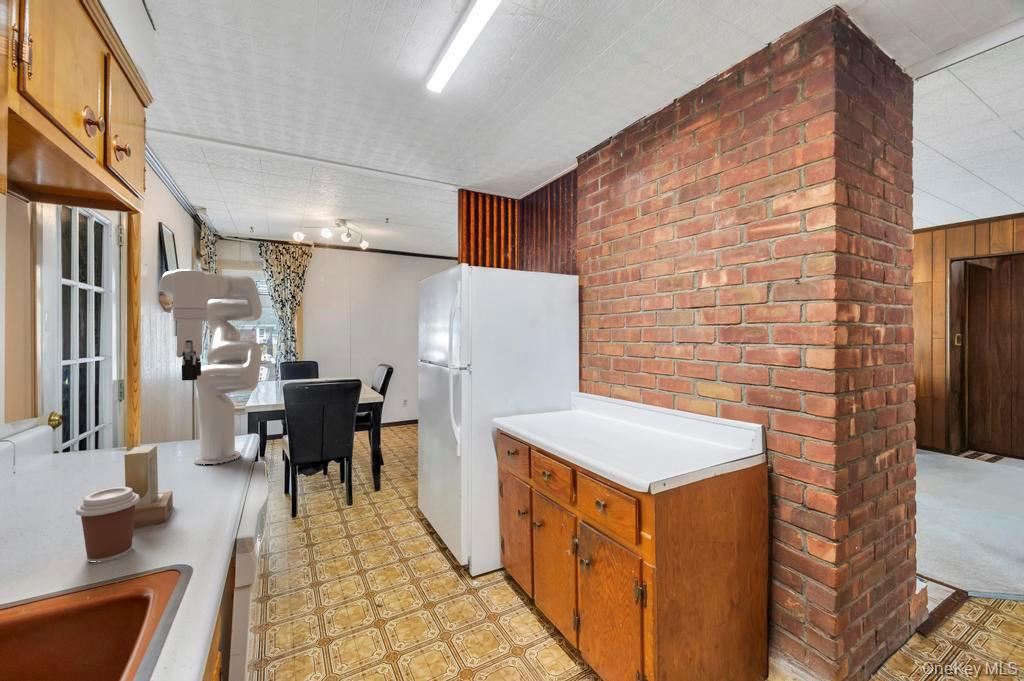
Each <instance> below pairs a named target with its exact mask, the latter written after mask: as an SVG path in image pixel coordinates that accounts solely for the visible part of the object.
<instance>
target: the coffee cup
mask: <svg viewBox="0 0 1024 681" xmlns="http://www.w3.org/2000/svg"><path fill="white" fill-rule="evenodd" d="M82 500H83V501H82V502H81V503H80V504H79V505H78V506H76V508H75V514H76V515H77V516H80V518H81V525H82V531H83V539H84V545H85V553H86V559H87V560H89V561H96V562H98V561H105V562H109V561H112V559H113V560H116V559H119V558H120V557H123V556H125V555H127V554H128V553H130V552H131V551H132V550H133V538H134V536H133V535H134V528H133V527H134V515H135V504H136V503H138V502H139V501H140V497H139V494H135V493H134V492H133V490H132V488H129V487H125V486H118V487H110V488H106V489H101V490H98V491H94V492H92V493H89V494H87V495H86V496H84V497H83V499H82ZM131 549H132V550H131ZM130 550H131V551H130ZM118 557H119V558H118ZM87 560H86V561H87ZM108 560H109V561H108Z"/></svg>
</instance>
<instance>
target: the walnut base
mask: <svg viewBox="0 0 1024 681" xmlns="http://www.w3.org/2000/svg"><path fill="white" fill-rule="evenodd" d="M173 497H174V496H173V491H172V490H169V491H164V492H158V495H157V496H156V497H155V499H154V500H153V501H152V502H151V503H150V504H148V505H140V506H135V515H134V527H133V529H138V528H137V527H139V528H143V527H142V526H144V527H148V526H147V525H150V526H153V525H152V524H155V525H160V524H165V523H164V522H166V523H167V521H168V518H169V516H170V513H171V512H170V511H172V509H173V507H174V503H173V502H174V498H173ZM166 520H167V521H166ZM159 523H160V524H159Z"/></svg>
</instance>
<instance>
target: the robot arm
mask: <svg viewBox="0 0 1024 681" xmlns="http://www.w3.org/2000/svg"><path fill="white" fill-rule="evenodd" d="M159 285H160V289H161V291H162V293H163V294H164V295H165V296H166V297H168V298H170V299H172V313H173V314H172V318H173V319H172V321H175V322H177V327H176V357H177V358H179V359H180V358H182V361H181V364H182V365H181V380H182V381H184V382H185V381H195V386H196V390H197V397H198V409H199V411H198V412H199V443H200V444H199V451H200V452H199V454H200V455H198V456H196V457H195V458H194V464H196V465H199V464H201V466H206V465H205V464H213V465H218V464H217V463H220V464H224V463H223V462H225V463H229V462H232V461H231V460H233V461H235V460H237V459H239V458H240V457H241V456H240V455H241V451H240V450H239V451H238V450H236V437H235V436H236V433H235V432H236V429H235V425H236V424H235V419H236V418H235V404H234V402H233V401H232V399H231V398H230V397H229V396H228V395H227V394H229V393H230V394H231V393H232V394H233V393H248V392H253V391H254V390H255V389H256V388H257V387H258V385H259V380H260V379H259V377H260V370H261V365H262V357H263V356H262V355H263V354H262V348H261V345H260V344H259V343H258V342H256V341H255V340H241V332H240V331H239V330H238V329H237V328H236V326H234V325H233V324H231V323H230V321H231V322H233V321H238V322H240V321H242V322H244V321H246V322H249V321H250V322H253V321H257V320H260V318H261V316H262V312H263V307H262V306H263V305H262V302H261V298H260V294H259V293H260V292H259V290H258V287H257V283H256V282H255V280H254V279H253V278H252V277H251V276H248V275H237V274H235V275H232V274H219V273H214V272H204V271H201V270H196V269H181V268H180V269H176V270H174V271H173V270H169V271H166V272H164V274H162V276H161V278H160V284H159ZM203 322H207V323H208V325H209V326H208V327H209V328H210V331H211V339H210V343H209V346H208V351H207V356H206V357H207V358H206V359H207V360H206V361H207V363H208V364H207V365H203V366H202V362H201V356H202V355H203V347H204V346H203V345H204V344H203V342H204V336H203V335H204V332H203V331H204V326H203V324H204V323H203ZM239 456H240V457H239ZM238 457H239V458H238ZM236 458H237V459H236ZM234 459H235V460H234ZM228 461H229V462H228ZM202 464H203V465H202Z"/></svg>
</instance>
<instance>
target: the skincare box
mask: <svg viewBox="0 0 1024 681" xmlns="http://www.w3.org/2000/svg"><path fill="white" fill-rule="evenodd" d="M158 475H159V474H158V445H157V444H156V445H142V446H135V447H132V448H131V449H130V450H128V451H127V452H125V453H124V480H125V481H124V484H125V486H124V487H129V488H132V490H133V492H134V493H135V494H139V497H140V501H139V502H138V503H136V504H135V506H140V505H148V504H150V503H151V502H152V501H153V500H154V499H155V497H156V496H157V495H158V493H159V481H158V480H159V479H158V477H159V476H158Z"/></svg>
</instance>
